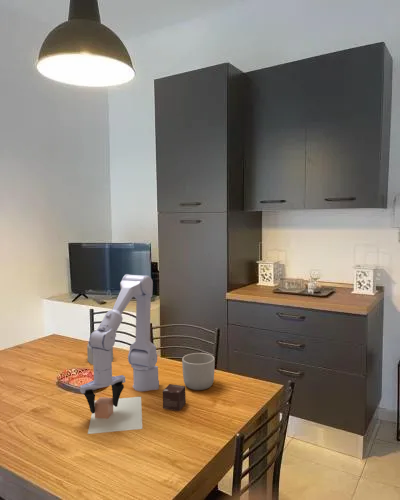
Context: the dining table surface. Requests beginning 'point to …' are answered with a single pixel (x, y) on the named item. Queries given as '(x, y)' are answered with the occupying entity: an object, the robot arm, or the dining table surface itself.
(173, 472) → the dining table surface
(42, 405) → the dining table surface
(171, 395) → the box
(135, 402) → the board
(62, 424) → the dining table surface
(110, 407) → the peach colored cube
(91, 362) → the lumpy-topped squat cylinder
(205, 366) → the planter
